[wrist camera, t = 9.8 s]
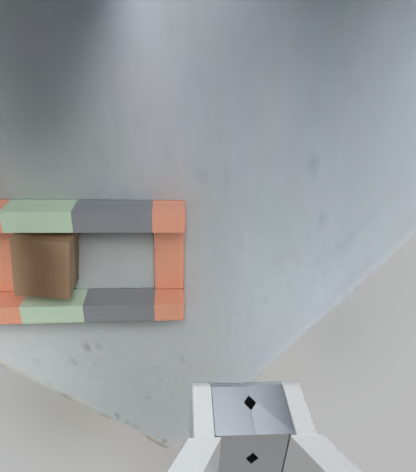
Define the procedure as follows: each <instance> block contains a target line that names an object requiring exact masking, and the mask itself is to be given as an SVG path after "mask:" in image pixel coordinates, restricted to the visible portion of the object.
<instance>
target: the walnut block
mask: <svg viewBox="0 0 416 472" xmlns="http://www.w3.org/2000/svg"><path fill="white" fill-rule="evenodd" d="M9 240H10V252H11V264H12V277H13V289H14V296H27V297H42V298H56V299H70V298H71V295H72V293H73V290H74V287H75V285H76V282H77V280H78V258H79V233H13V234H12V236H11V237H10V238H9Z"/></svg>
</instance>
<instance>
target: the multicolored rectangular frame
mask: <svg viewBox="0 0 416 472" xmlns="http://www.w3.org/2000/svg"><path fill="white" fill-rule="evenodd" d="M185 230H186V210H185V200H47V199H0V324H36V323H79V322H122V321H165V320H184V233H185ZM13 233H154V257H155V288H113V289H74V290H73V293H72V295H71V298H70V299H56V298H42V297H27V296H14V289H13V277H12V264H11V252H10V240H9V238H10V237H11V236H12V234H13Z"/></svg>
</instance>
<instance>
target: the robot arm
mask: <svg viewBox="0 0 416 472" xmlns="http://www.w3.org/2000/svg"><path fill="white" fill-rule="evenodd" d="M167 472H362V471H361V470H360V469H359V468H358V467H357V466H356V465H355V464H354V463H353V462H352V461H350V460H349V459H348V458H347V457H346V456H345V455H344V454H343V453H342V452H341V451H340V450H339V449H338V448H337V447H335V445H333V443H331V442H330V441H329V440H328V439H327V438H326V437H325V436H324V435H323V434H317V432H316V429H315V426H314V423H313V421H312V417H311V415H310V412H309V409H308V406H307V404H306V400H305V397H304V394H303V391H302V388H301V386H300V384H299V382H297V381H293V382H278V381H277V382H245V383H192V385H191V410H190V438H188V439H187V440H186V442H185V443H184V445H183V447H182V448H181V450H180V451H179V453H178V455H177V456H176V458H175V459H174V461H173V463H172V464H171V466H170V467H169V469H168V470H167Z"/></svg>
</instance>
